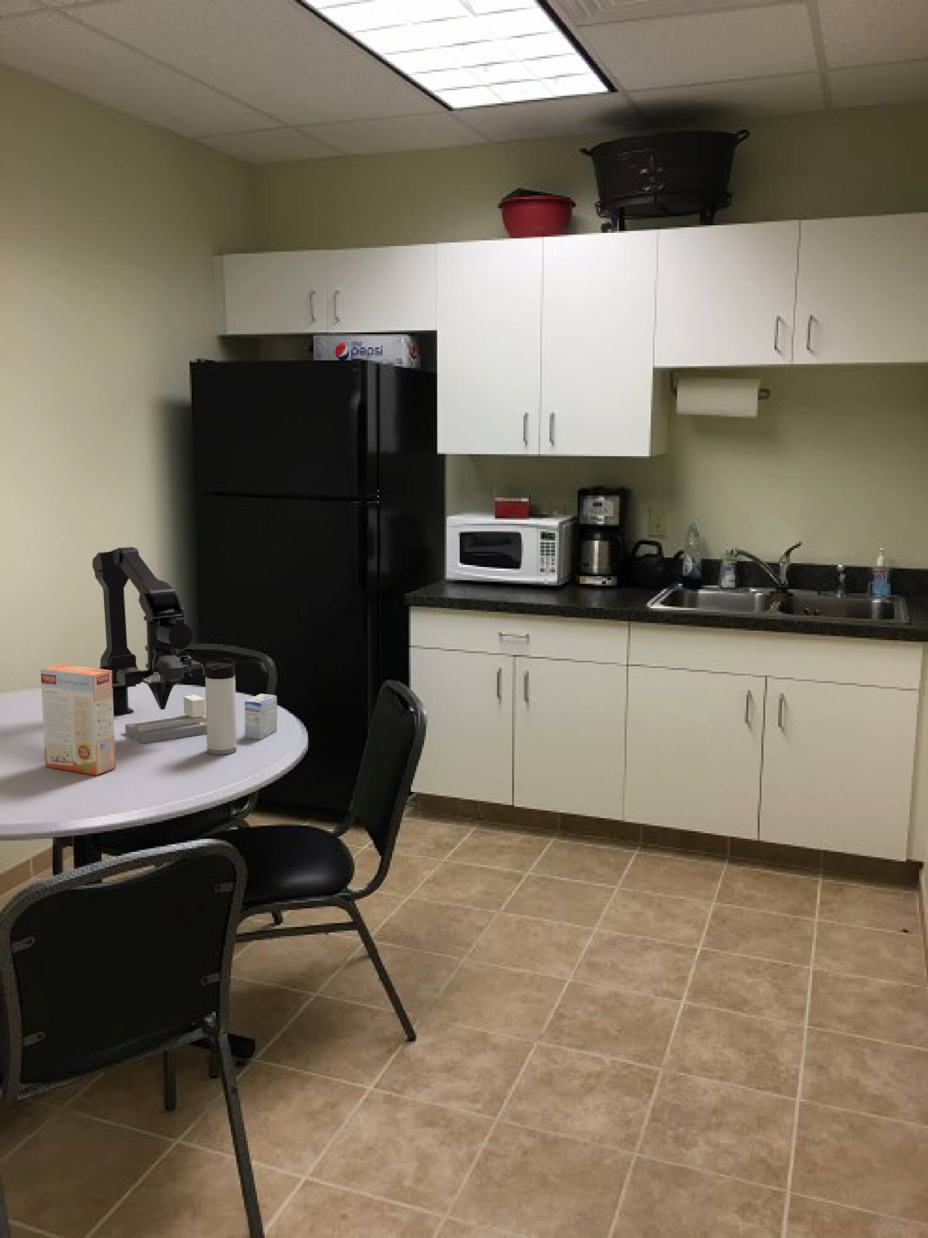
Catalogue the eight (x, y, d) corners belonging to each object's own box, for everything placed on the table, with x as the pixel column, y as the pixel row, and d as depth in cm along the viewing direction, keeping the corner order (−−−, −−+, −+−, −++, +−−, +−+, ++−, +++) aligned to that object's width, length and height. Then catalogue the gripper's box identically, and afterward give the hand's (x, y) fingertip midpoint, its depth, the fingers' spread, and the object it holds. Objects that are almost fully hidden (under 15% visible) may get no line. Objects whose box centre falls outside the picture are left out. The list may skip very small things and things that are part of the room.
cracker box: (117, 769, 220) (113, 669, 216) (96, 777, 214) (91, 675, 211) (66, 759, 226) (61, 662, 222) (43, 767, 220) (39, 667, 217)
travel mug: (242, 748, 236) (241, 659, 232) (226, 756, 230) (224, 665, 226) (217, 745, 238) (216, 656, 234) (201, 753, 232) (199, 662, 228)
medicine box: (260, 729, 251) (259, 693, 250) (277, 731, 250) (277, 694, 249) (244, 738, 244) (243, 701, 242) (262, 740, 243) (261, 702, 241)
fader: (184, 718, 251) (183, 696, 251) (196, 716, 253) (195, 694, 252) (193, 723, 248) (192, 700, 247) (205, 721, 249) (204, 699, 248)
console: (125, 732, 246) (125, 720, 246) (195, 721, 257) (194, 709, 256) (143, 744, 238) (143, 730, 237) (215, 732, 248) (214, 719, 247)
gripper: (133, 652, 230) (135, 723, 233) (214, 643, 242) (215, 710, 244) (114, 644, 239) (117, 712, 242) (193, 636, 250) (194, 701, 253)
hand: (162, 709), depth 245 cm, fingers closed
